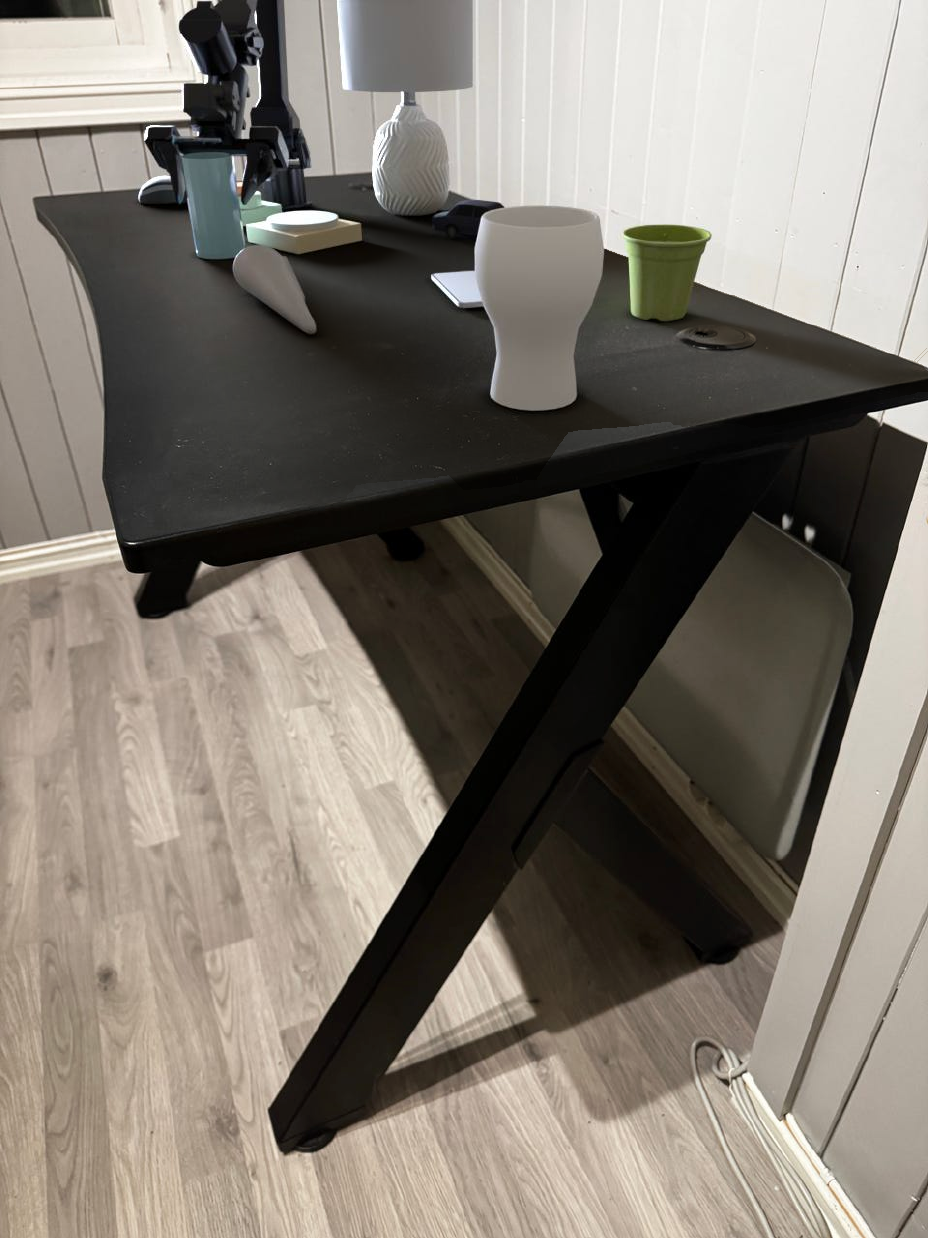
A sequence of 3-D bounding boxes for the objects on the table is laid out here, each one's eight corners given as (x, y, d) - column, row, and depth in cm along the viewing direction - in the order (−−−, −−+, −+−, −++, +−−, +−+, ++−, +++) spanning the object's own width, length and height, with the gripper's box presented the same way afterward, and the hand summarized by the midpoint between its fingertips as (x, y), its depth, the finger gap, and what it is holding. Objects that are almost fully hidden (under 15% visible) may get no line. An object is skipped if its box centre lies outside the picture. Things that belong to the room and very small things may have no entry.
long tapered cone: (258, 356, 95) (233, 292, 109) (318, 356, 98) (286, 293, 111) (258, 302, 92) (232, 243, 106) (320, 304, 94) (287, 245, 108)
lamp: (417, 197, 164) (408, -56, 143) (497, 211, 152) (501, -62, 131) (327, 212, 152) (304, -60, 132) (407, 229, 140) (395, -68, 120)
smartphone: (485, 269, 117) (521, 298, 105) (485, 274, 117) (520, 304, 105) (429, 273, 115) (459, 303, 103) (429, 278, 116) (459, 309, 103)
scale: (311, 229, 141) (309, 206, 140) (362, 240, 135) (360, 216, 133) (247, 241, 134) (244, 217, 132) (297, 254, 127) (295, 229, 126)
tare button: (242, 193, 148) (241, 181, 147) (256, 195, 146) (254, 183, 145) (224, 196, 146) (222, 184, 145) (237, 198, 143) (235, 186, 142)
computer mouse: (209, 202, 161) (205, 177, 158) (137, 205, 159) (132, 180, 156) (209, 195, 166) (206, 171, 164) (140, 198, 164) (136, 174, 162)
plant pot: (649, 331, 97) (658, 246, 92) (599, 309, 104) (605, 229, 99) (717, 319, 100) (730, 236, 95) (664, 299, 107) (673, 220, 102)
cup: (514, 368, 87) (519, 199, 79) (613, 389, 82) (629, 212, 74) (451, 401, 80) (448, 219, 72) (555, 427, 75) (565, 235, 67)
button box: (254, 212, 153) (250, 186, 151) (283, 218, 148) (280, 192, 146) (203, 221, 147) (199, 194, 145) (231, 228, 142) (227, 200, 140)
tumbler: (227, 245, 132) (214, 150, 125) (255, 253, 128) (242, 154, 121) (187, 253, 128) (170, 155, 121) (214, 261, 124) (198, 160, 117)
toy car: (515, 246, 131) (516, 209, 128) (429, 236, 136) (428, 200, 134) (533, 238, 135) (534, 202, 132) (448, 229, 141) (448, 194, 138)
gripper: (134, 56, 119) (117, 161, 116) (272, 55, 117) (259, 162, 114) (168, 118, 130) (153, 215, 127) (295, 118, 128) (283, 217, 125)
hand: (210, 202), depth 123 cm, fingers open, 9 cm apart
